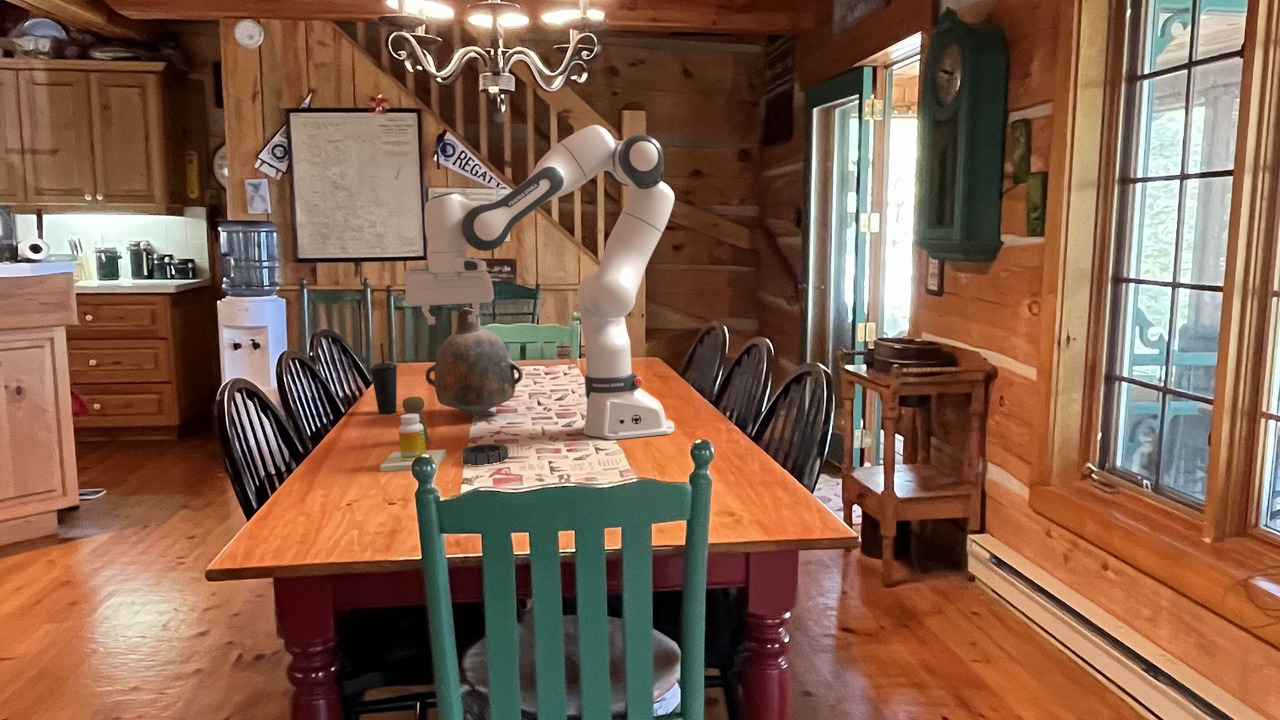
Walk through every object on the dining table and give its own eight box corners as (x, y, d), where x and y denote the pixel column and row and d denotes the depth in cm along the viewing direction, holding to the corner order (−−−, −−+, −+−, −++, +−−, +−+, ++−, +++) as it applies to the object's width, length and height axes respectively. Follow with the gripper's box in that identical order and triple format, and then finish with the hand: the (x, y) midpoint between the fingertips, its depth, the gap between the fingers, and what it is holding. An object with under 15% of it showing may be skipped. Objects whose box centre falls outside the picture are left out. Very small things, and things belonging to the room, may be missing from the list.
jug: (512, 404, 264) (505, 301, 260) (530, 418, 244) (522, 306, 240) (426, 414, 256) (417, 307, 251) (437, 429, 236) (428, 313, 231)
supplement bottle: (425, 460, 200) (421, 416, 199) (400, 462, 200) (396, 418, 198) (426, 454, 206) (423, 411, 204) (402, 456, 205) (398, 413, 203)
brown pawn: (422, 444, 221) (418, 399, 219) (399, 444, 222) (395, 399, 220) (433, 438, 226) (429, 394, 225) (410, 438, 228) (406, 394, 226)
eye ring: (510, 453, 208) (509, 442, 207) (505, 464, 198) (504, 453, 198) (467, 455, 208) (466, 445, 207) (460, 467, 198) (459, 456, 197)
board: (446, 454, 209) (445, 449, 209) (436, 468, 198) (435, 463, 197) (393, 457, 209) (393, 452, 209) (380, 471, 197) (380, 466, 197)
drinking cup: (407, 411, 261) (401, 341, 258) (386, 416, 255) (380, 345, 252) (388, 409, 266) (382, 341, 262) (368, 414, 259) (361, 344, 256)
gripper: (399, 267, 208) (404, 327, 211) (489, 263, 209) (493, 323, 211) (405, 265, 215) (410, 324, 217) (492, 261, 215) (496, 320, 217)
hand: (452, 323), depth 214 cm, fingers open, 8 cm apart
